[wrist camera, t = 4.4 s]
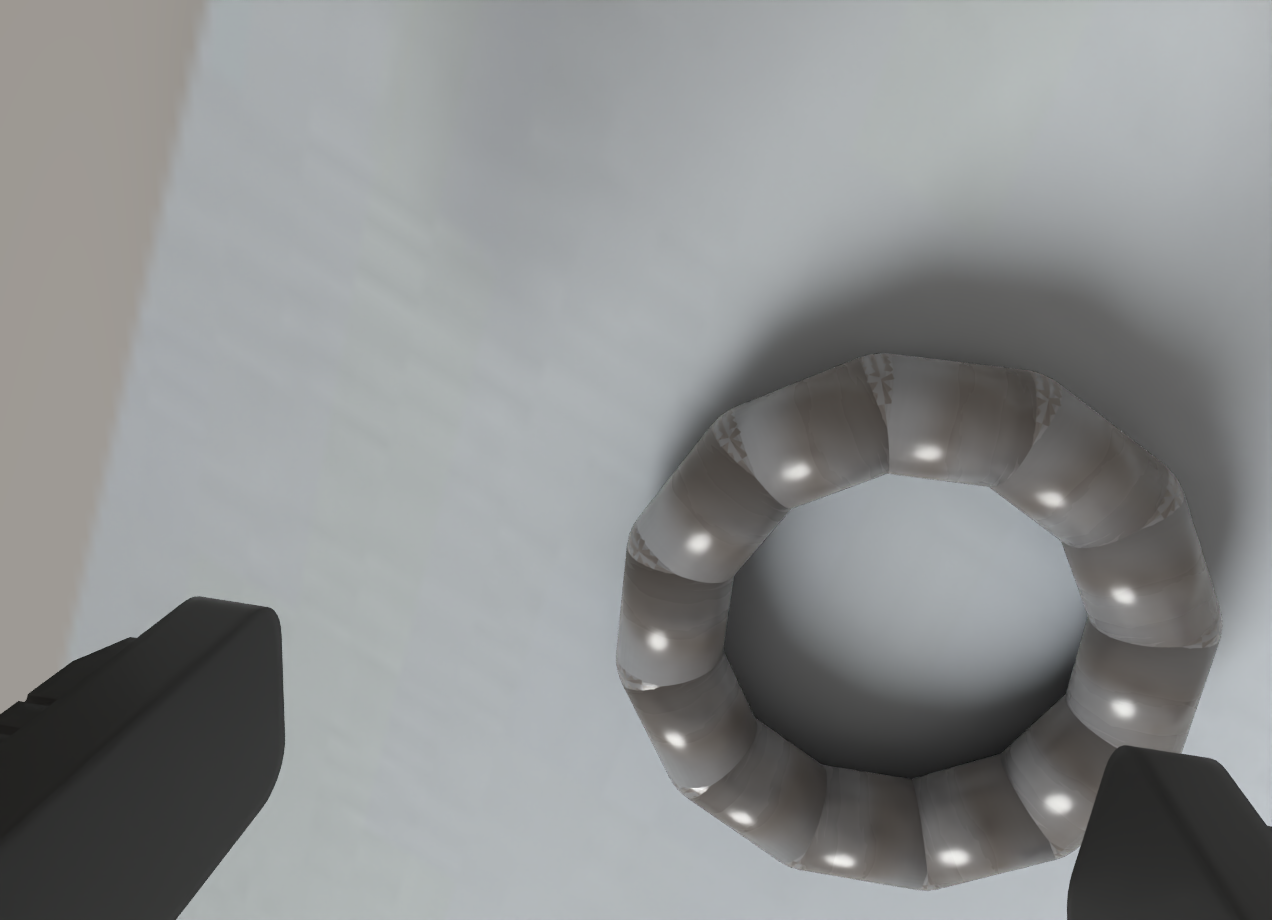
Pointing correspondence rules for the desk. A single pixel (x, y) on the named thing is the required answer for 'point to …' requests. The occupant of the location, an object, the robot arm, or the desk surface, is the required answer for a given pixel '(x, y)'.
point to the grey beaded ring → (947, 451)
